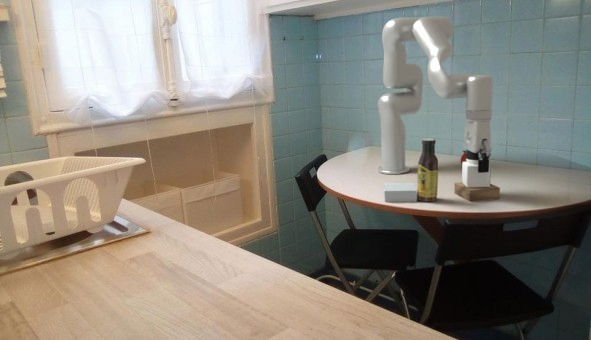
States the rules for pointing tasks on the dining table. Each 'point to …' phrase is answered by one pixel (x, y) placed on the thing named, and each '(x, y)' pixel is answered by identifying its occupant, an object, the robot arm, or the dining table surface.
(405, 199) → the grey block
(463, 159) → the pomegranate
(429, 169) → the sauce bottle
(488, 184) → the medicine bottle
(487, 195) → the walnut block
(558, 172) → the dining table surface
